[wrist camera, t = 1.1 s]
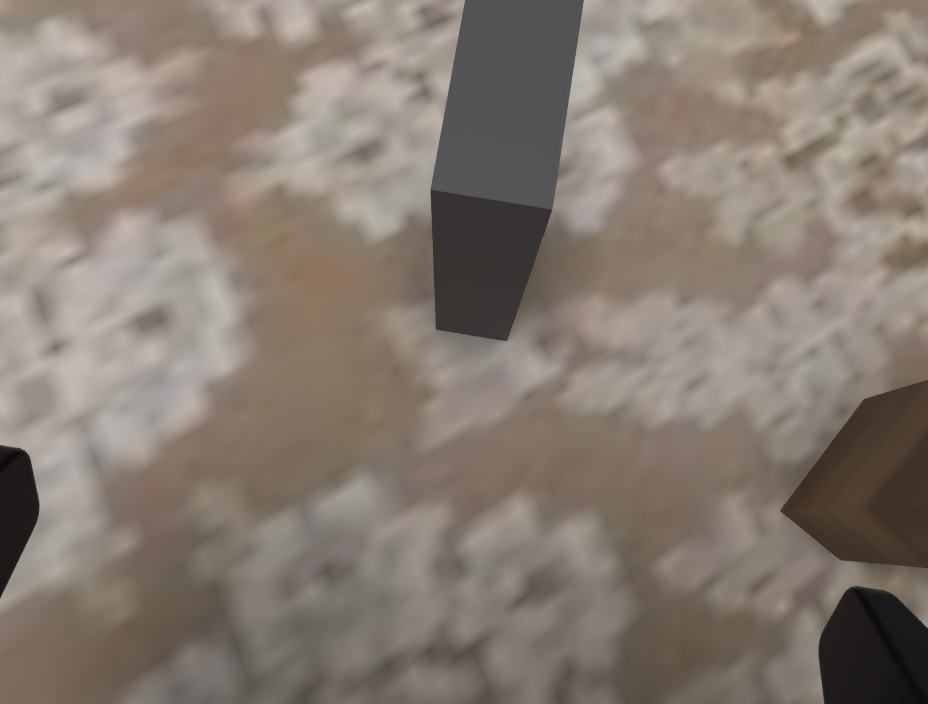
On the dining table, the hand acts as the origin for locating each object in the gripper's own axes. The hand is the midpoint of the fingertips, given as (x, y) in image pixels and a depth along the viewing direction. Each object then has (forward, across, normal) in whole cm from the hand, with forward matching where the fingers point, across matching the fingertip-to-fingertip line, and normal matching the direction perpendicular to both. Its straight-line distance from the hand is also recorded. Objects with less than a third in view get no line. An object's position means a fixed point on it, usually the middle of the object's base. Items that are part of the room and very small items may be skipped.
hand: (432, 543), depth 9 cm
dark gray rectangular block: (+15, 0, +4) cm, 15 cm away
